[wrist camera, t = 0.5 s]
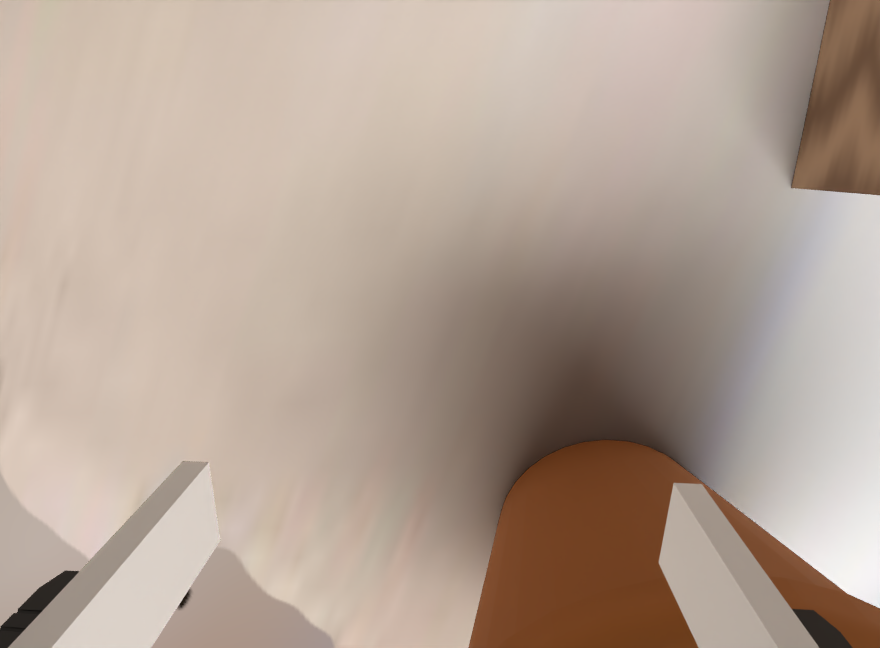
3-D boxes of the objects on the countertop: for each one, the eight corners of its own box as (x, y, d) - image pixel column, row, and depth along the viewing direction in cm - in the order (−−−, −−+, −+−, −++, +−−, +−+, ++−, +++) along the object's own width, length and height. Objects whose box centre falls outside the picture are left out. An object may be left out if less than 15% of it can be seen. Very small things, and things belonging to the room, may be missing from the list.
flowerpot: (385, 494, 46) (307, 810, 24) (662, 324, 40) (912, 533, 17) (553, 685, 52) (618, 1080, 30) (816, 563, 46) (1149, 946, 24)
